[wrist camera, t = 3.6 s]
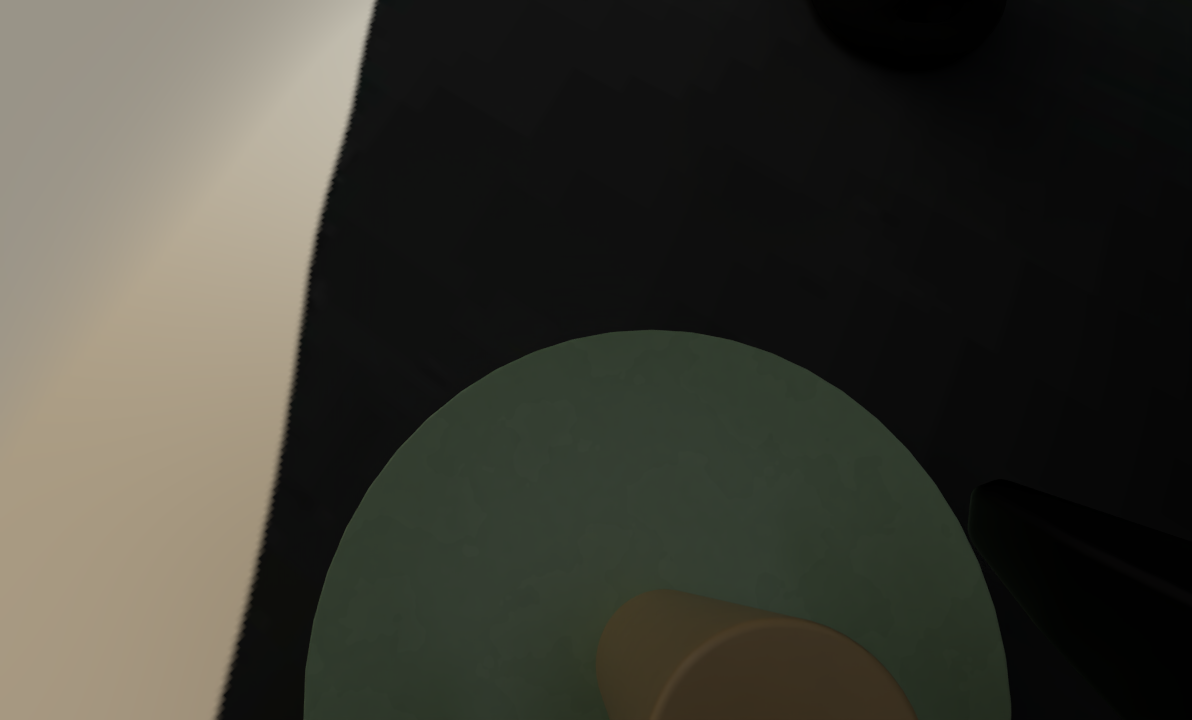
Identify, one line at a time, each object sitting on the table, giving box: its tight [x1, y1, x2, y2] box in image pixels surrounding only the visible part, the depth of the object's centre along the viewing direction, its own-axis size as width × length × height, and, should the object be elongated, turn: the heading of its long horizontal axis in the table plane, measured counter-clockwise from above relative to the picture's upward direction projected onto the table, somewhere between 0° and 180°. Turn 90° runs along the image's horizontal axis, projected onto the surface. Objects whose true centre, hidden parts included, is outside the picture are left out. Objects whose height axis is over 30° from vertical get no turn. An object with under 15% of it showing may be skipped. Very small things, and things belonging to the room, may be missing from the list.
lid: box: [304, 330, 1011, 720], centre depth 10 cm, size 13×13×8 cm
